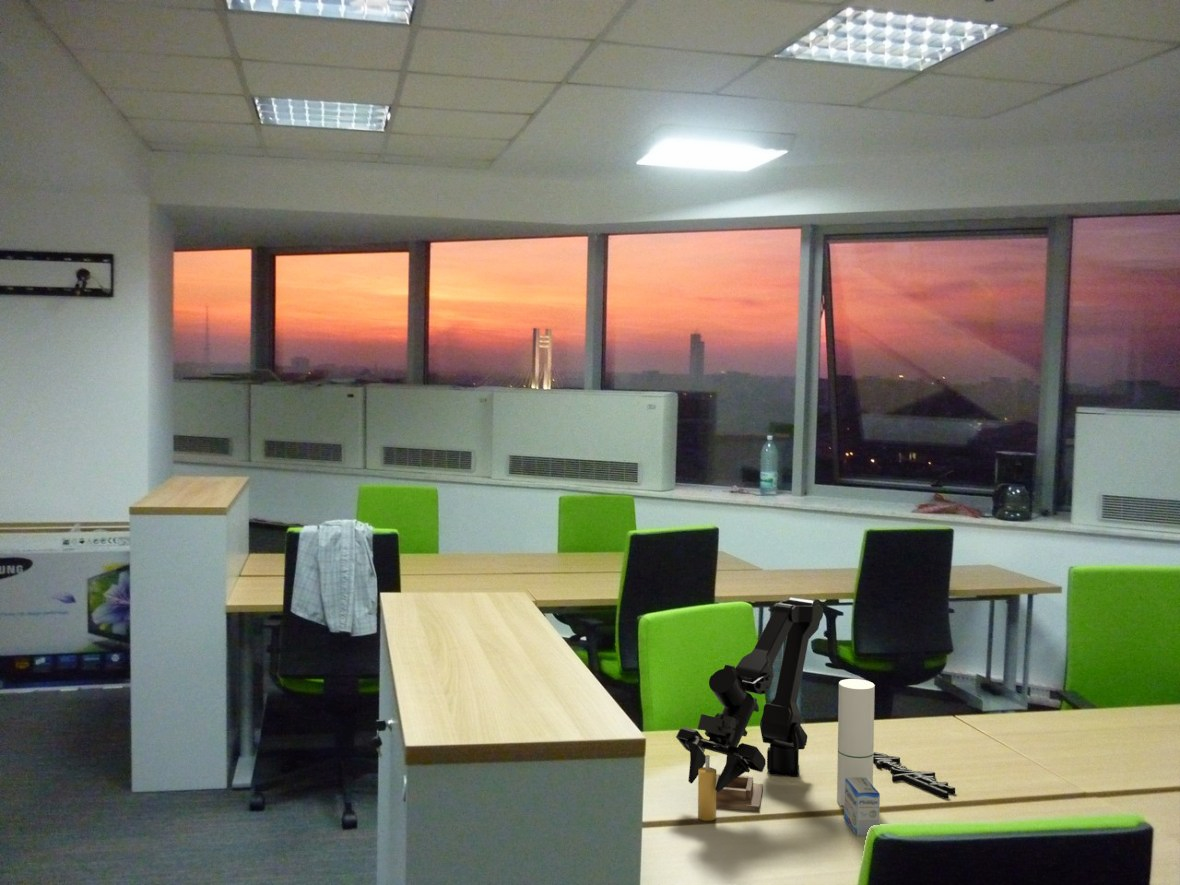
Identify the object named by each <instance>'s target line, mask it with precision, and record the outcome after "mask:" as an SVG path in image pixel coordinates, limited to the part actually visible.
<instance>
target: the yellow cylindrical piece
mask: <svg viewBox="0 0 1180 885" xmlns="http://www.w3.org/2000/svg"><path fill="white" fill-rule="evenodd" d="M705 756H706V761H705V764H704V766H705V767H704V766H703V768H700V769H699V770H698V776H697V778H698V779H697V781H698V784H697V787H698V788H697V791H698V792H697V809H698V810H697V817H699V818H698V819H699V820H702V821H705V822H707V821H714V820H716V819H717V807H716V790H715V788H716V774H717V769H716V768H714V767H710V761H711V760H710V755H709V754H705Z"/></svg>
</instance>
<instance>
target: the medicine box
mask: <svg viewBox="0 0 1180 885" xmlns="http://www.w3.org/2000/svg"><path fill="white" fill-rule="evenodd" d="M880 796H881V795H880V792H879V791H878V790H877V789H876V788H875V786H874V785H873V786H872V784H871V783H870V782H869V781H868V780H867V779H866V778H863V777H851V778H846V779H845V804H844V807H843V810H844V811H843V812H844V813H843V819H844V820H845V822H846V823H847V825H848V826H849V827H850V828H851V829H852V831H853V832H854V834H856V836H857V837H867V836H866V835H867V832H868V830H869V828H870V827H871V826H873V825H878V824H879V825H880V805H881V804H880V803H881V801H880V800H881V797H880Z"/></svg>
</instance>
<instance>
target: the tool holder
mask: <svg viewBox="0 0 1180 885" xmlns="http://www.w3.org/2000/svg"><path fill="white" fill-rule="evenodd" d="M720 775H721V773H718V774H717V773H716V785H717V782H718V780H719V778H720ZM763 790H764V784H763V783H758V782H757V783H754V777H753V776H752V777H751V776H749V775H743V774H742V775H740V776H739V777H737V778H736V779H734V780H733V781H732V782H730V783H729V784H728V785H727V786H725V787H724V788H723V789H722V790H721V791H719V792H717V791H716V808H719V809H729V808H731V809H730V810H739V809H740V810H741V811H750V810H753V811H752V812H760V809H761V801H762V797H763ZM743 809H744V810H743Z"/></svg>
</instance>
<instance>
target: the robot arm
mask: <svg viewBox="0 0 1180 885" xmlns="http://www.w3.org/2000/svg"><path fill="white" fill-rule="evenodd" d="M823 617H824V608H823V606H822V605H821V603H820V601H819V600H817V599H813V598H812V599H811V598H806V597H799V596H798V597H797V596H790V598H789V599H786V600H780V601H779V602H777V603H775V604H773V606H772V610H771V615H770V616H769V619H768V621H767V623H766V624H765V627H764V629H763V630H762V632H761V634H760V636H759V638H758V640H757V642H756V645H755V646H754V648H753V649H752V651H751V652H750V653H748V654H746V655H745V656H743V657H741V659H740V660H739V662H738V663H737V664H736V667H735V665H731V664H725V665H724V667H723V668H721V669H718V670H717V671H715V672H714V673H713V674H712V675H711V676H710V677H709V681H708V686H709V688H710V690H711V691H712V693H713V694H714V696H715V697H716V698H717V700H718V701H719V703H720V705H722V706H723V709H722V710H721V713H719V712H718V713H716V714H715V715H714V716H712V715H709V714H708V715H707V714H706V713H705V714H703V713H700V717H699V721H698V724H697V728H696V729H697V730H696V729H692V728H689V727H686V726H683V727H681V728H680V729H679V730H678V732H677V733H676V736H675V738H676V740H678V742H679V743H680V744H681V745H682V747H683V748H684V749H685V750H686V751H688V752H689V754H690V755H689V757H690V759H689V769H688V770H689V771H688V783H689V784H693V783H694V782H695V780H696V779H697V778H698V770H699V769H700V768H703V767H704V766H705V761H706V754H705V751H706V750H707V751H711V752H715V753H718V754H721V755H725V756H726V761H725V765H724V767H723V769H722V771H721V773H720V774H721V775H720V778H719V780H718V782H717V785H716V788H715V790H716V791H717V792H719V791H721V790H722V789H723V788H724V787H725V786H727V785H728V784H729V783H730V782H732V781H733V780H734V779H736V778H737V777H739V776H740V775H742V776H743V774H745V773H750V771H751V770H752V771H755V772H759V773H763V771H764V770H765V767H766V769H767V770H768V775H771V776H782V777H790V778H791V777H795V778H798V777H800V776H799V775H800V764H799V757H800V753H799V752H800V750H805V749H806V746H807V742H808V734H807V733H806V731H805V730H804V728H803V726H801V722H802V715H801V712H800V709H799V706H798V704H797V703H798V702H797V701H798V699H799V698H798V697H799V692H800V688H801V687H800V686H801V683H802V682H801V680H802V677H803V671H804V666H805V661H806V656H807V650H808V645H809V641H810V639H811V638H812V637H813V635H815V633H816V632H817V631H818V630H819V627H820V624H821V621H822V619H823ZM784 643H785V644H784ZM783 645H785V646H784V650H783V654H782V658H781V659H782V660H781V665H780V669H779V675H778V679H777V680H778V681H777V685H776V690H775V694H774V698H773V699H772V700H771V701H770V702H769V703H768V702H766V703H765V704H764V706H763V710H762V711H763V712H762V716H761V719H760V722H759V729H760V734H761V738H762V743H764V744H768V745H769V746H768V747H767V751H766V752H767V753H766V758H765V756H764V755H763V754H762V752H761V751H760V749H759V748H758V746H755V745H751V744H747V743H743V742H742V743H740V742H741V740H742V737H745V738H746V737H747V735H748V731H747V730H746V728H747V726H748V724H749V722H750V720H751V718H752V715H753V713H754V712H755V713H759V711H760V706H759V704H758V698H756V697H753V696H752V694H756V695H765V694H766V693H767V692H768V690H770V688H771V686H772V681H773V678H774V675H775V673H774V669H773V666H774V663H775V660H776V658H777V656H778V655H779V652H780V650H781V649H782V646H783ZM700 731H705V732H704V735H705V736H706V737H708V739H707V738H704V737H703V736H702V734H700ZM766 760H767V761H766Z"/></svg>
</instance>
